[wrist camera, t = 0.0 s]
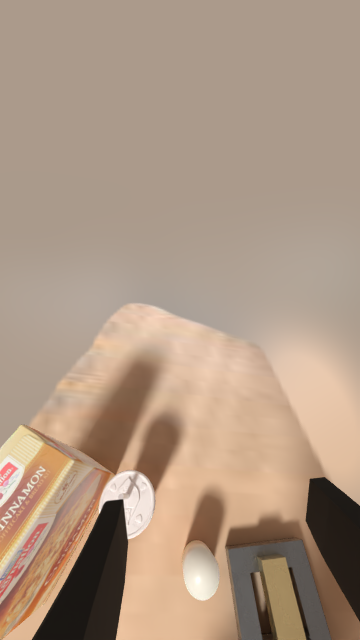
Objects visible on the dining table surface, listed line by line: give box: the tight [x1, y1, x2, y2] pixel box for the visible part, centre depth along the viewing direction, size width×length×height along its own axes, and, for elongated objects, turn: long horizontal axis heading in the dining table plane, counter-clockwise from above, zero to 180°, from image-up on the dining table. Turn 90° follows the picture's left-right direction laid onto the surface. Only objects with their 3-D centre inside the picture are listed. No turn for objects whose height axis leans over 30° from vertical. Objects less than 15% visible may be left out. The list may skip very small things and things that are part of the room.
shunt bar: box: [257, 554, 306, 640], centre depth 26 cm, size 8×3×2 cm, turn 5°
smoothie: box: [99, 470, 155, 539], centre depth 29 cm, size 6×6×14 cm
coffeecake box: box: [0, 425, 115, 640], centre depth 25 cm, size 15×7×20 cm, turn 153°
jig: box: [225, 538, 331, 640], centre depth 26 cm, size 14×10×3 cm
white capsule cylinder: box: [182, 540, 219, 600], centre depth 28 cm, size 4×4×6 cm
